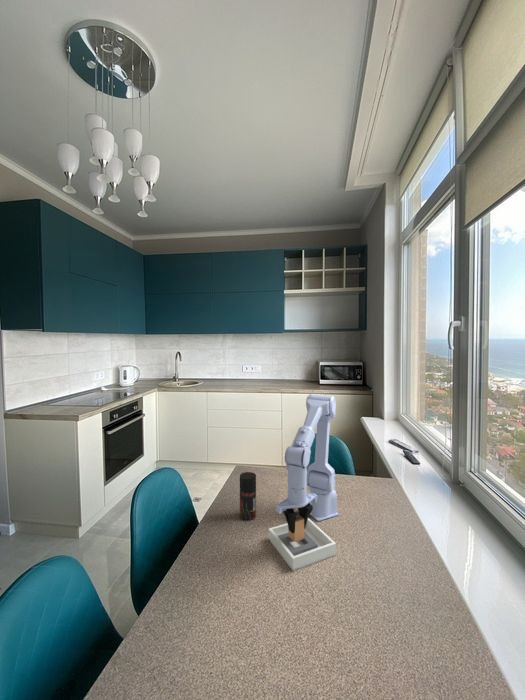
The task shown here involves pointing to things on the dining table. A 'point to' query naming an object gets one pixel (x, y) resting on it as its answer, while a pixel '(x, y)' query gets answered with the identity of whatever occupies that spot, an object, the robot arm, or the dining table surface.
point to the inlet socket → (307, 546)
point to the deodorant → (247, 496)
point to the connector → (297, 529)
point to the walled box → (307, 558)
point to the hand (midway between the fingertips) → (297, 529)
